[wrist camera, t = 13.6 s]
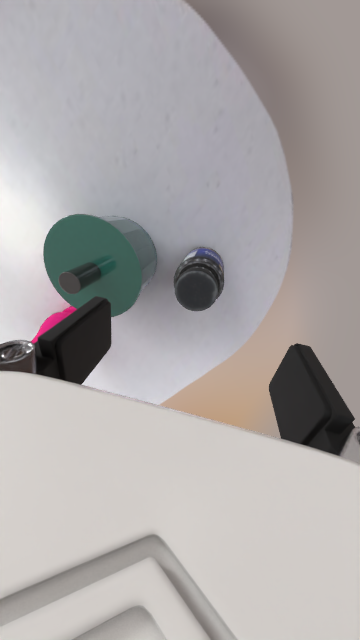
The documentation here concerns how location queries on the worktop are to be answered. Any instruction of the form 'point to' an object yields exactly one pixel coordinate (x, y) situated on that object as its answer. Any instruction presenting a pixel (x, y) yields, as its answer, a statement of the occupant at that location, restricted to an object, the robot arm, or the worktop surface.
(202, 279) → the pill bottle
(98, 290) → the pot lid
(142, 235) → the pot
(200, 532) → the robot arm
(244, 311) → the worktop surface
